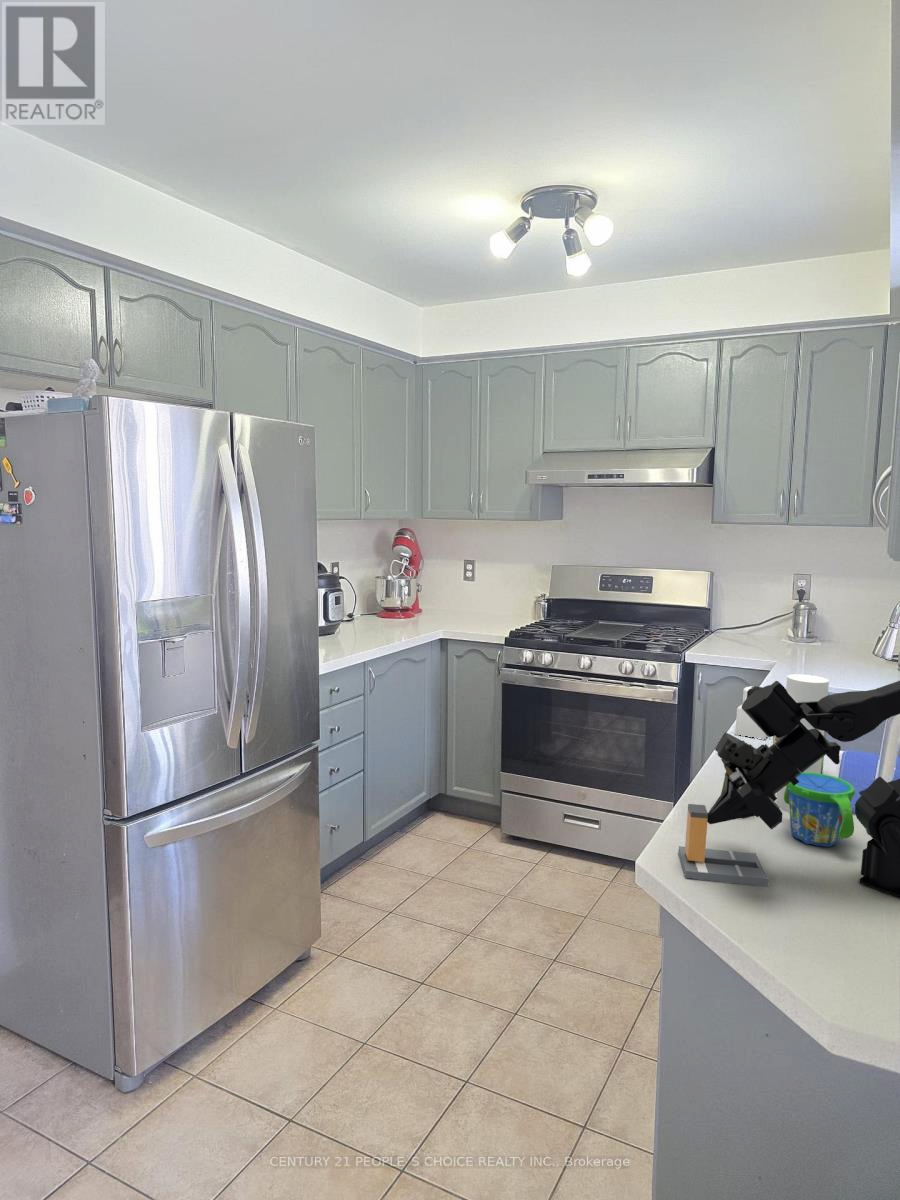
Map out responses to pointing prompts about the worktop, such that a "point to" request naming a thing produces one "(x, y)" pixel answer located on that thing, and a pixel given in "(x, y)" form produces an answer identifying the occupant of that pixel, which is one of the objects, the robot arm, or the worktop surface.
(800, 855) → the worktop surface
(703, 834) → the fader tab
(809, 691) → the cylindrical container
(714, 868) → the fader console
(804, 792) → the snack cup
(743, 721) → the medicine bottle
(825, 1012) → the worktop surface
